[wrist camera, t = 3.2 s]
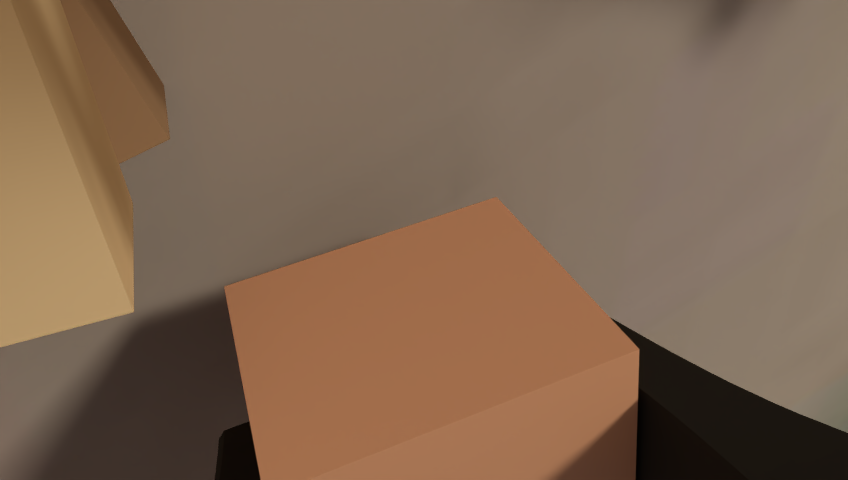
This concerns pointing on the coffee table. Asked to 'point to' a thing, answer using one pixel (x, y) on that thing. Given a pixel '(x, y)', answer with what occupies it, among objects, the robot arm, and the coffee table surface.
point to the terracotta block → (435, 361)
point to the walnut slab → (119, 77)
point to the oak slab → (56, 185)
